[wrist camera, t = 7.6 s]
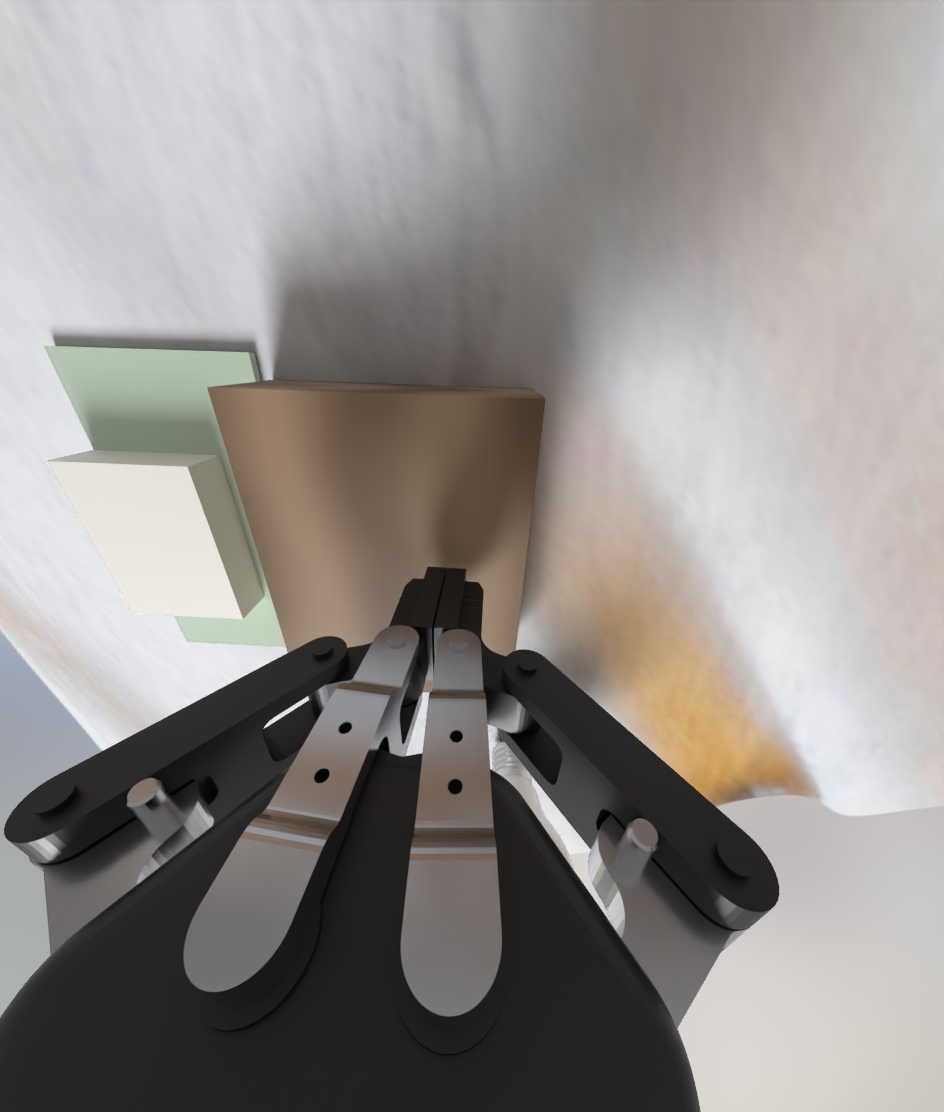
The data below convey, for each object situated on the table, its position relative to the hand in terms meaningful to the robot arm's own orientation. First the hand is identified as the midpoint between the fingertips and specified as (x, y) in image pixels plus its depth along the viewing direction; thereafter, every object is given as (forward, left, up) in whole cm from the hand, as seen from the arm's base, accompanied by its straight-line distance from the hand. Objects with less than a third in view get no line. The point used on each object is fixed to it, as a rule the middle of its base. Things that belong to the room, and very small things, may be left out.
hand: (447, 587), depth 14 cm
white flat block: (+14, 0, -3) cm, 14 cm away
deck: (+2, 0, -5) cm, 5 cm away
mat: (+13, 0, -5) cm, 14 cm away
